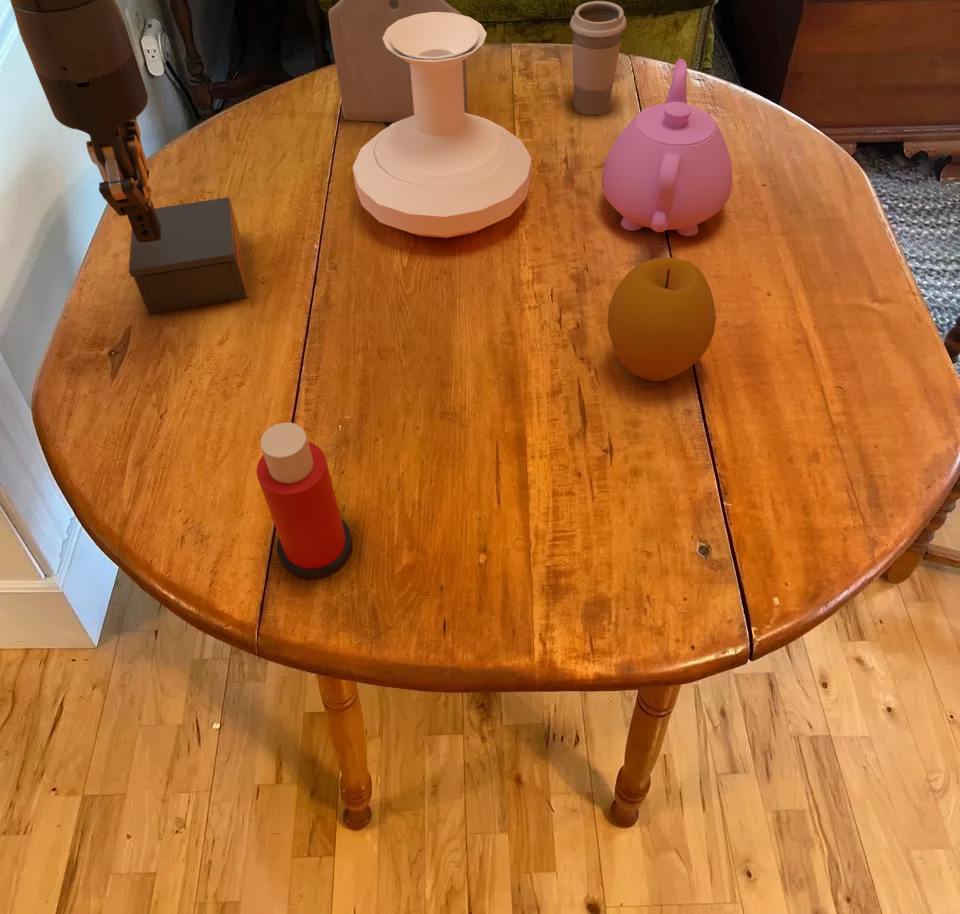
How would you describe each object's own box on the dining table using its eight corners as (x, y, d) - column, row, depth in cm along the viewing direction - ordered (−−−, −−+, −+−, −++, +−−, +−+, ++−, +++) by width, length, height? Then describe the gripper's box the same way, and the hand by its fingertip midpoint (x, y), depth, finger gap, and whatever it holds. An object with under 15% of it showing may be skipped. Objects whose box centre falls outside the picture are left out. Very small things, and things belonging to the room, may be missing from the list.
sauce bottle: (271, 551, 70) (231, 449, 60) (310, 508, 73) (278, 402, 63) (319, 579, 68) (287, 478, 58) (358, 533, 71) (333, 429, 61)
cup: (597, 125, 111) (605, 30, 102) (554, 109, 114) (559, 15, 104) (628, 102, 114) (638, 8, 105) (585, 87, 117) (592, -6, 108)
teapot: (609, 152, 107) (619, 51, 97) (726, 163, 105) (749, 61, 95) (589, 252, 95) (599, 148, 85) (722, 267, 93) (747, 162, 83)
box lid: (235, 260, 87) (233, 253, 86) (131, 277, 85) (128, 270, 85) (231, 203, 94) (229, 196, 93) (135, 218, 93) (132, 211, 92)
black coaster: (282, 586, 69) (280, 580, 68) (276, 526, 73) (273, 519, 72) (357, 570, 70) (355, 564, 69) (347, 511, 74) (345, 504, 73)
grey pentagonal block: (475, 94, 116) (471, -64, 101) (467, 126, 112) (461, -35, 96) (356, 89, 118) (334, -68, 103) (343, 120, 113) (318, -40, 98)
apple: (630, 318, 88) (645, 220, 79) (720, 353, 85) (746, 255, 76) (584, 377, 83) (593, 280, 74) (677, 417, 80) (699, 320, 70)
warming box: (247, 298, 91) (236, 261, 88) (149, 314, 90) (133, 277, 86) (241, 240, 98) (231, 203, 94) (149, 255, 96) (135, 218, 93)
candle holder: (355, 261, 95) (327, 92, 80) (361, 159, 107) (338, -4, 92) (538, 252, 95) (545, 82, 80) (523, 151, 108) (526, -13, 93)
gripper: (38, 21, 71) (110, 203, 85) (23, 100, 63) (106, 288, 77) (132, 10, 73) (189, 191, 86) (130, 87, 64) (193, 274, 78)
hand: (150, 237), depth 81 cm, fingers closed
